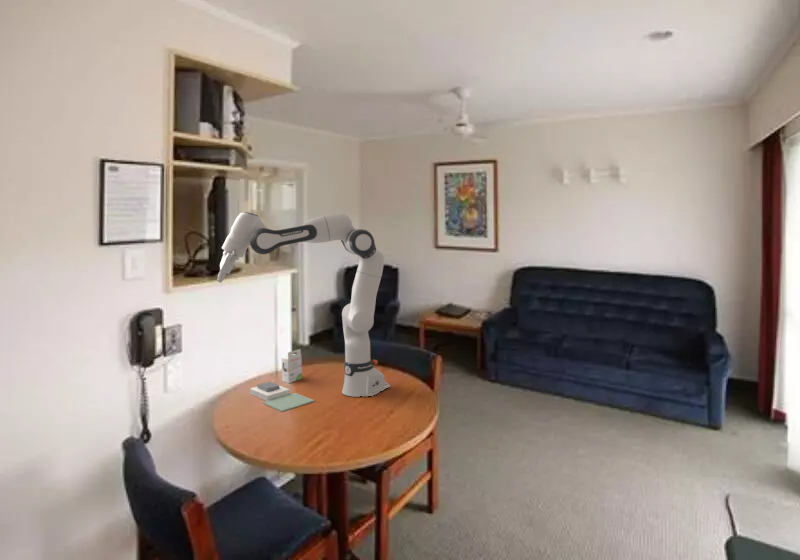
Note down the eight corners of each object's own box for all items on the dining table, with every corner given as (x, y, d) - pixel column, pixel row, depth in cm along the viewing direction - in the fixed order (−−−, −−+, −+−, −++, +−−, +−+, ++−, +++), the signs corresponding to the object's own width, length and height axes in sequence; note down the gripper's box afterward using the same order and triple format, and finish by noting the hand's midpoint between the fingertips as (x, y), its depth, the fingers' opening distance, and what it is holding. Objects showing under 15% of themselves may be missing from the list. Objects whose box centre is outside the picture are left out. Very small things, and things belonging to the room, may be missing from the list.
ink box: (295, 376, 241) (294, 347, 239) (302, 378, 238) (301, 348, 237) (281, 381, 234) (280, 351, 232) (288, 383, 231) (287, 352, 230)
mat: (295, 393, 217) (295, 392, 217) (314, 401, 207) (314, 400, 207) (262, 403, 205) (262, 402, 205) (281, 411, 195) (281, 410, 195)
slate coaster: (269, 384, 221) (269, 381, 221) (279, 388, 216) (279, 385, 216) (257, 388, 217) (257, 384, 217) (267, 392, 211) (267, 388, 211)
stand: (271, 387, 225) (271, 382, 224) (289, 395, 215) (289, 389, 215) (250, 393, 217) (249, 388, 216) (267, 401, 207) (267, 395, 207)
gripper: (242, 254, 190) (227, 287, 189) (240, 250, 209) (226, 280, 208) (227, 247, 187) (211, 280, 187) (225, 244, 206) (211, 274, 206)
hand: (219, 280), depth 198 cm, fingers open, 8 cm apart
